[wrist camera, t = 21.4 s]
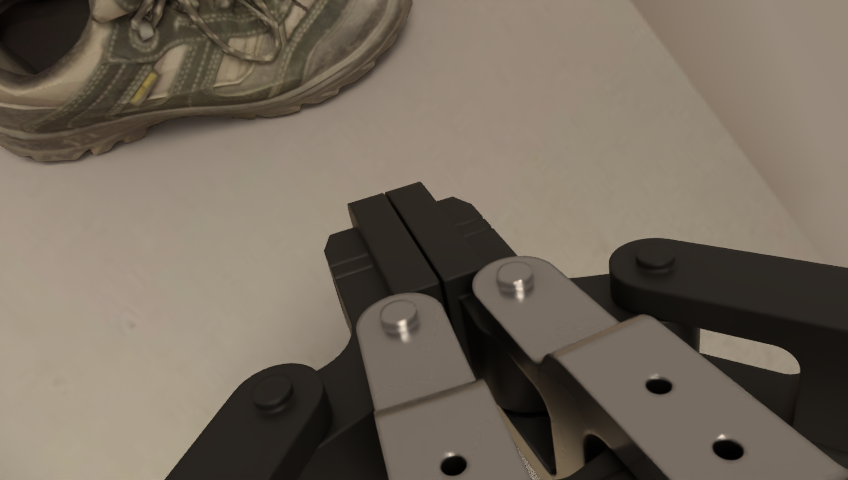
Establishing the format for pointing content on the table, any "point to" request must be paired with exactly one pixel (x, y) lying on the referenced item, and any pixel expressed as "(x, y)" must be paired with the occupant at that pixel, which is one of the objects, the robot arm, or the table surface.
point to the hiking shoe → (173, 63)
